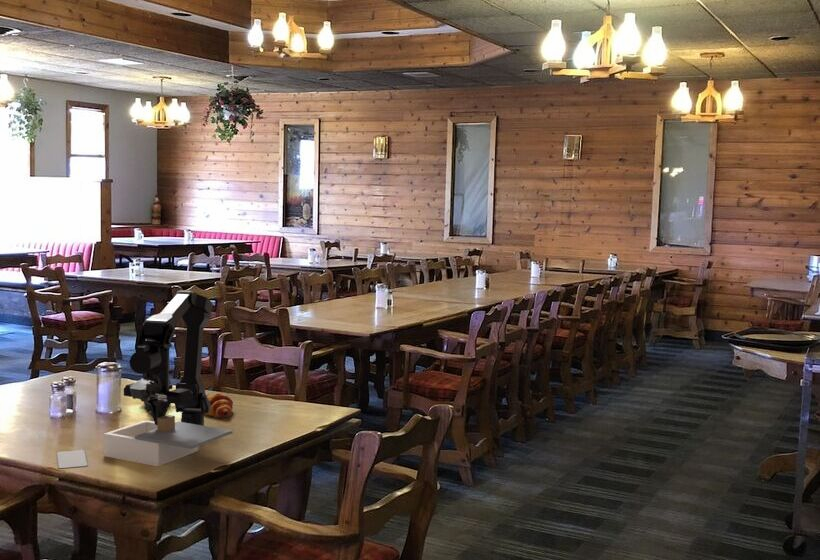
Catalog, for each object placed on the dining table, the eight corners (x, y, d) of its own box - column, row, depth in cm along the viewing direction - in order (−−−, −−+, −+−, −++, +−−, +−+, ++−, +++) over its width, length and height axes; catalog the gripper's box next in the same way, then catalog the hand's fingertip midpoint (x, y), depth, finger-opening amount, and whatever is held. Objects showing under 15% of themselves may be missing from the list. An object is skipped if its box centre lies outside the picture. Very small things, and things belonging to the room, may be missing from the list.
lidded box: (146, 441, 240) (146, 420, 240) (198, 450, 233) (198, 429, 232) (103, 456, 226) (103, 433, 225) (158, 466, 218) (158, 443, 218)
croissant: (198, 416, 283) (186, 396, 280) (224, 400, 287) (213, 380, 284) (218, 431, 264) (206, 409, 262) (246, 413, 269) (235, 391, 266)
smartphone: (58, 468, 214) (56, 451, 227) (58, 470, 214) (56, 453, 228) (88, 465, 217) (84, 449, 230) (88, 468, 217) (84, 451, 230)
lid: (178, 424, 235) (178, 408, 235) (232, 433, 228) (232, 417, 228) (134, 438, 220) (134, 422, 220) (191, 449, 213) (191, 432, 212)
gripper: (108, 367, 223) (108, 426, 224) (165, 375, 215) (165, 436, 216) (138, 361, 233) (138, 417, 234) (194, 368, 225) (193, 427, 227)
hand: (157, 424), depth 228 cm, fingers closed
